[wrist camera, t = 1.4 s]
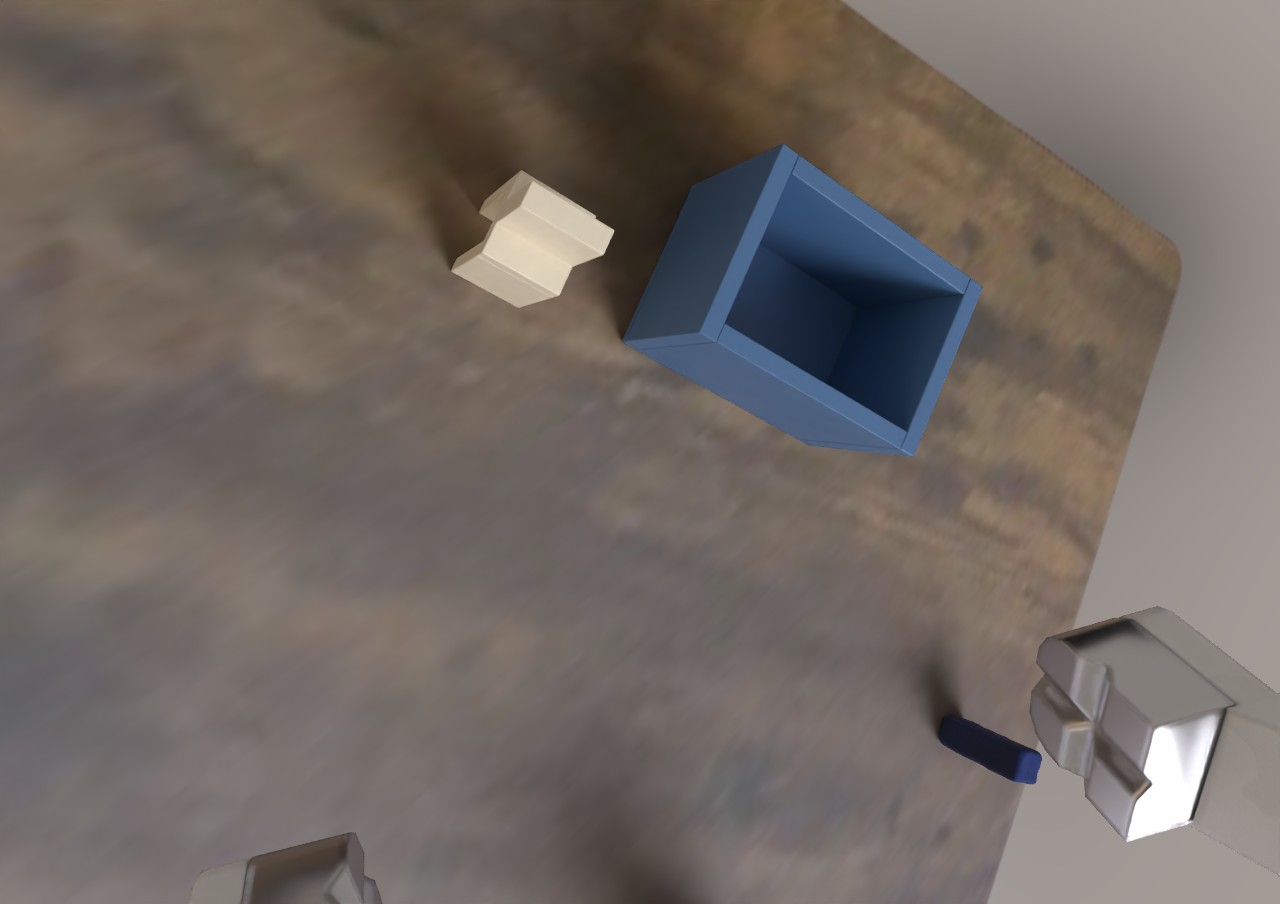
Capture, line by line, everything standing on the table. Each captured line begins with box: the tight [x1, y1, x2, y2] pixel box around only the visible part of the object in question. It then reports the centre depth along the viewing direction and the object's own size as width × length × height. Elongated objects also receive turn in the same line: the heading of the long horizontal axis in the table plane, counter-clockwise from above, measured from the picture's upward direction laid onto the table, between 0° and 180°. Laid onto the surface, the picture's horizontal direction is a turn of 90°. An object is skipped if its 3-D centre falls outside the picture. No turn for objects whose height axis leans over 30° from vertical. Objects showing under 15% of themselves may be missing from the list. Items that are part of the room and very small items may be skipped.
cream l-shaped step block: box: [451, 170, 614, 308], centre depth 41 cm, size 4×4×11 cm
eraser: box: [939, 716, 1042, 784], centre depth 58 cm, size 2×2×7 cm
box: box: [622, 144, 983, 457], centre depth 48 cm, size 14×10×10 cm
